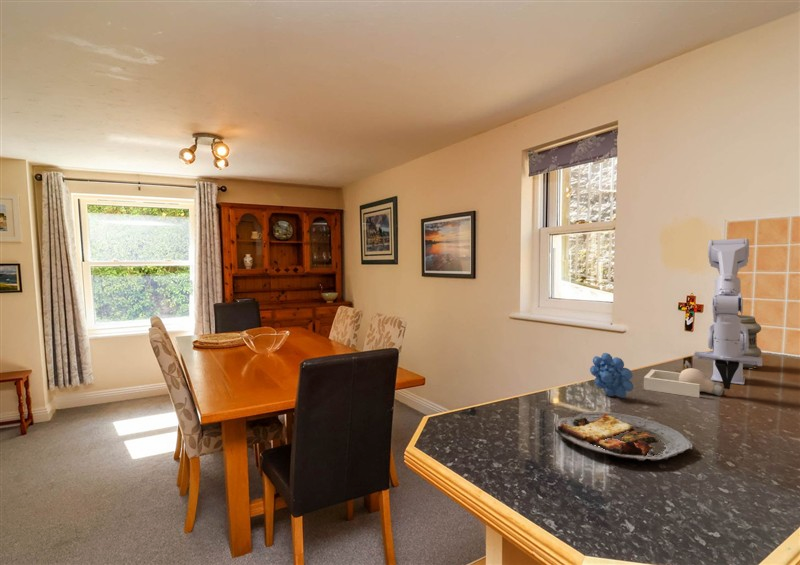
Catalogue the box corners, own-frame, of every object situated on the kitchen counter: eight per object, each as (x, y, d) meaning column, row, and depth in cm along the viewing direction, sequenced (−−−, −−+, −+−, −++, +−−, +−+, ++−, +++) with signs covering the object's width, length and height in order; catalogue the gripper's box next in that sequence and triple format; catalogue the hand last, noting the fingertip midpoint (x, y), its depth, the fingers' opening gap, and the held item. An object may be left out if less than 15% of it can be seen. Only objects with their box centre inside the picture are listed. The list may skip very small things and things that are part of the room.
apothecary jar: (730, 370, 141) (730, 317, 140) (710, 362, 153) (710, 314, 152) (770, 370, 139) (770, 317, 138) (746, 362, 151) (746, 314, 150)
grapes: (583, 394, 116) (582, 352, 116) (594, 390, 121) (594, 349, 120) (626, 404, 107) (626, 359, 107) (637, 399, 112) (637, 355, 111)
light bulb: (731, 378, 113) (687, 361, 121) (723, 387, 109) (677, 368, 118) (725, 398, 116) (681, 380, 124) (716, 407, 112) (672, 387, 120)
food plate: (634, 479, 69) (634, 458, 69) (531, 433, 90) (531, 417, 90) (712, 451, 81) (713, 433, 81) (605, 416, 102) (605, 402, 102)
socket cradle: (651, 380, 130) (651, 369, 130) (703, 387, 121) (703, 375, 121) (643, 389, 121) (643, 377, 121) (699, 397, 112) (699, 385, 112)
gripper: (693, 338, 114) (693, 386, 115) (762, 343, 105) (762, 396, 105) (695, 335, 120) (695, 381, 120) (762, 339, 110) (761, 390, 110)
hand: (726, 388), depth 113 cm, fingers closed
